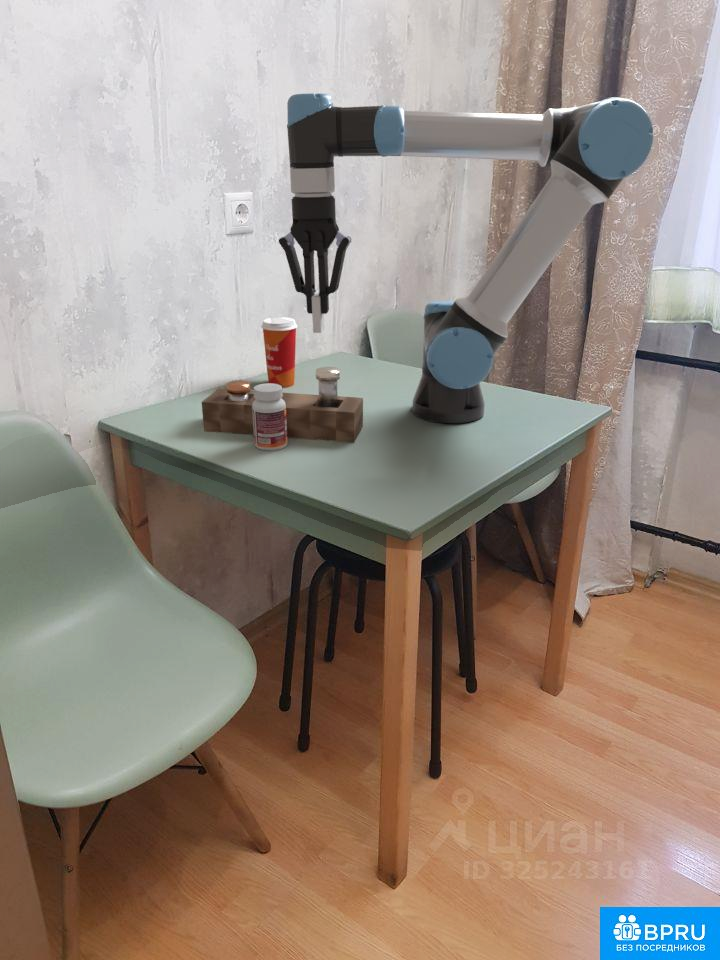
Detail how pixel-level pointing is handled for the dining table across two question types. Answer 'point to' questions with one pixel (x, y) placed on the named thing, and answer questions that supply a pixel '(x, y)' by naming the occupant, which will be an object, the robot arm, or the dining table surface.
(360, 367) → the dining table surface
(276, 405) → the pill bottle
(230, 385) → the knob
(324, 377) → the knob
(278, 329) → the coffee cup
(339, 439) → the brown wooden long block
